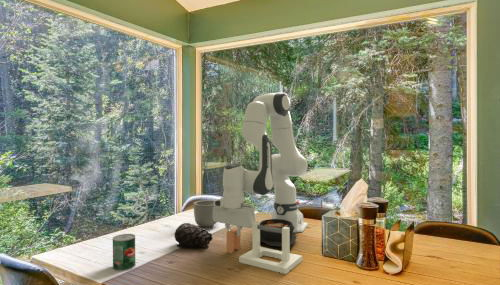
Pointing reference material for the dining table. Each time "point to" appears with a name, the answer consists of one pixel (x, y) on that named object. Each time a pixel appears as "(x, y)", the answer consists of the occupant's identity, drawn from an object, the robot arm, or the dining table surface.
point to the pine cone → (192, 237)
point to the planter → (204, 213)
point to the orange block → (233, 241)
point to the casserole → (275, 237)
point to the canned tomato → (123, 252)
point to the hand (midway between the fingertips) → (233, 234)
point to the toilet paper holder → (271, 251)
